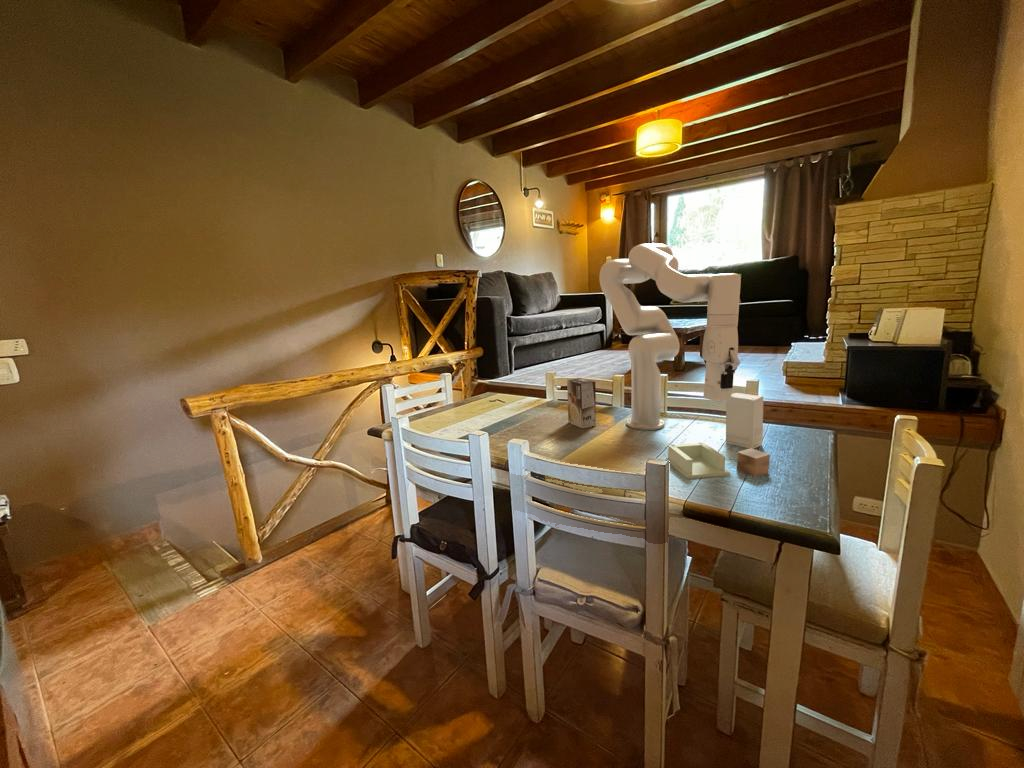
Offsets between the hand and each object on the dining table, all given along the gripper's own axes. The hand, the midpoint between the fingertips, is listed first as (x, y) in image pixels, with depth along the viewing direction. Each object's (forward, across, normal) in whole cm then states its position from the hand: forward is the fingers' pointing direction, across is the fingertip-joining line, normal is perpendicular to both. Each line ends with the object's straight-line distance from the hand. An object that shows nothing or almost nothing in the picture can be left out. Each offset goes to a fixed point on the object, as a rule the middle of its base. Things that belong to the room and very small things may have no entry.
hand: (718, 384), depth 117 cm
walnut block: (+19, +15, +1) cm, 25 cm away
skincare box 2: (+20, -2, +10) cm, 22 cm away
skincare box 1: (+5, 0, 0) cm, 5 cm away
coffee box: (+20, -33, -30) cm, 49 cm away
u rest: (+19, +10, -11) cm, 24 cm away
